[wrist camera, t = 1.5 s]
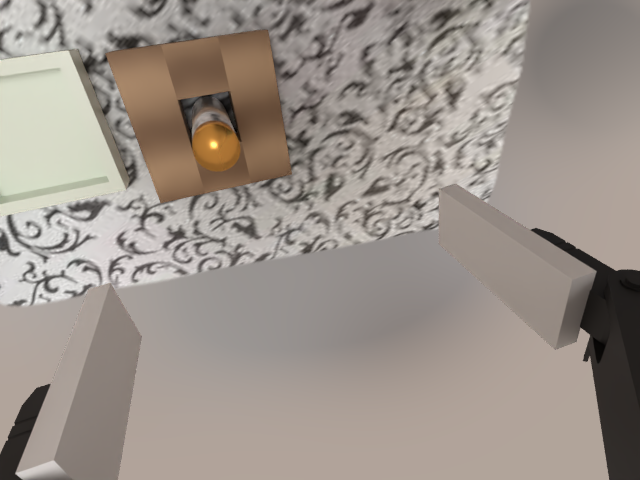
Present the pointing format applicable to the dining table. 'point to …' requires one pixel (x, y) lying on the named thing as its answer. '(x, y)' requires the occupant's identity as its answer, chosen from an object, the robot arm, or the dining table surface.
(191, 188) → the block
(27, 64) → the tray
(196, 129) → the clear capped vial
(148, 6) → the dining table surface
